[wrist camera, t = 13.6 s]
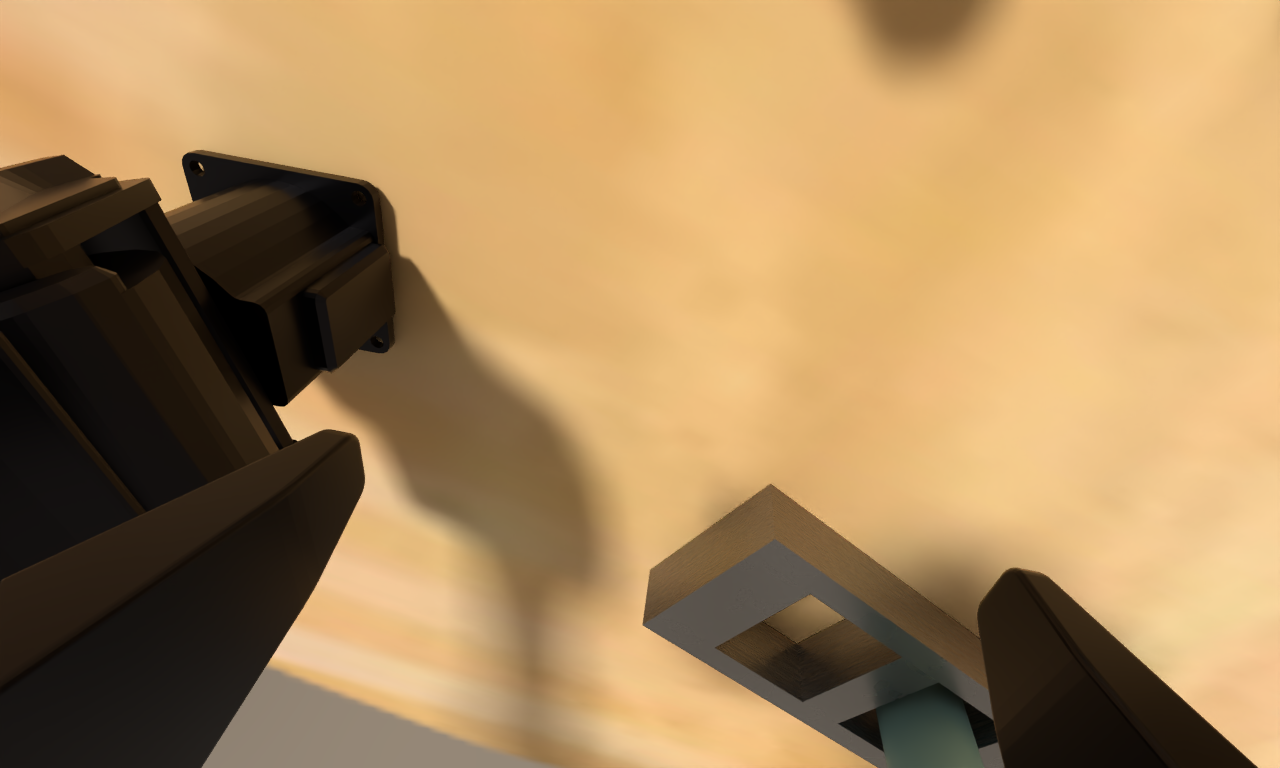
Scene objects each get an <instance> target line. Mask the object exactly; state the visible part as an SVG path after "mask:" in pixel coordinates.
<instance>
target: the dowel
mask: <svg viewBox="0 0 1280 768" xmlns="http://www.w3.org/2000/svg"><path fill="white" fill-rule="evenodd" d="M876 713H877V718H878V723H879V728H880V733H881V738H882V743H883V748H884V753H885V758H886V763H887V768H984V765H983V762H982V759H981V756H980V753H979V749H978V746H977V743H976V740H975V737H974V734H973V731H972V728H971V725H970V722H969V719H968V716H967V713H966V709H965V706H964V703H963V700H962V698H961V697H959V696H958V695H956V694H955V693H953V692H952V691H950V690H949V689H948V688H946V687H945V686H943V685H942V684H940V683H936V684H934V685H931V686H929V687H926V688H924V689H921V690H919V691H917V692H914V693H912V694H909V695H907V696H904V697H902V698H899V699H897V700H894V701H892V702H890V703H887V704H885V705H882V706H880V707H877V708H876Z"/></svg>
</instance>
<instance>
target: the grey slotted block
mask: <svg viewBox="0 0 1280 768" xmlns="http://www.w3.org/2000/svg"><path fill="white" fill-rule="evenodd" d="M809 594H811V595H813V596H814V597H816V598H817V599H818V600H820V601H821V602H823V603H824V604H826V605H827V606H829V607H830V608H831V609H833V610H834V611H836V612H837V613H839V614H840V615H842V616H843V617H845V618H846V619H844V620H842V621H841V622H839V623H837V624H835V625H833V626H831V627H829V628H827V629H825V630H823V631H821V632H819V633H817V634H815V635H813V636H811V637H809V638H808V639H806V640H804V641H802V642H800V643H798V644H796V643H794V642H793V641H791V640H790V639H788V638H787V637H785V636H784V635H782V634H781V633H779V632H777V631H776V630H774V629H773V628H771V627H770V626H768V625H767V624H765V623H764V622H762V621H763V620H765V619H767V618H768V617H770V616H772V615H774V614H775V613H777V612H779V611H781V610H783V609H784V608H786V607H788V606H790V605H791V604H793V603H795V602H797V601H799V600H800V599H802V598H804V597H806V596H807V595H809ZM643 626H645V627H646V628H648V629H650V630H651V631H653V632H655V633H656V634H658V635H660V636H661V637H663V638H665V639H666V640H668V641H670V642H671V643H673V644H675V645H676V646H678V647H680V648H681V649H683V650H685V651H686V652H688V653H689V654H691V655H693V656H694V657H696V658H698V659H699V660H701V661H703V662H704V663H706V664H708V665H709V666H711V667H713V668H714V669H716V670H718V671H719V672H721V673H723V674H724V675H726V676H727V677H729V678H731V679H732V680H734V681H736V682H737V683H739V684H741V685H742V686H744V687H746V688H747V689H749V690H751V691H752V692H754V693H756V694H757V695H759V696H761V697H762V698H764V699H766V700H767V701H769V702H770V703H772V704H774V705H775V706H777V707H779V708H780V709H782V710H784V711H785V712H787V713H789V714H790V715H792V716H794V717H795V718H797V719H799V720H800V721H802V722H804V723H805V724H807V725H809V726H810V727H812V728H813V729H815V730H817V731H818V732H820V733H822V734H823V735H825V736H827V737H828V738H830V739H832V740H833V741H835V742H837V743H838V744H840V745H842V746H843V747H845V748H847V749H848V750H850V751H852V752H853V753H855V754H856V755H858V756H860V757H861V758H863V759H865V760H866V761H868V762H870V763H871V764H873V765H875V766H876V767H878V768H887V763H886V758H885V753H884V748H883V743H882V738H881V733H880V728H879V723H878V718H877V713H876V708H877V707H880V706H882V705H885V704H887V703H890V702H892V701H894V700H897V699H899V698H902V697H904V696H907V695H909V694H912V693H914V692H917V691H919V690H921V689H924V688H926V687H929V686H931V685H934V684H936V683H940V684H942V685H943V686H945V687H946V688H948V689H949V690H950V691H952V692H953V693H955V694H956V695H958V696H959V697H961V698H962V700H963V703H964V706H965V709H966V713H967V716H968V719H969V722H970V725H971V728H972V731H973V734H974V737H975V740H976V743H977V746H978V749H979V753H980V756H981V759H982V762H983V765H984V768H1004V764H1003V760H1002V756H1001V752H1000V748H999V744H998V740H997V736H996V731H995V726H994V721H993V715H992V709H991V703H990V697H989V690H988V684H987V678H986V671H985V665H984V659H983V652H982V646H981V640H980V639H979V638H978V637H977V636H975V635H974V634H972V633H971V632H970V631H968V630H967V629H966V628H964V627H963V626H962V625H960V624H959V623H958V622H956V621H955V620H954V619H952V618H951V617H950V616H948V615H947V614H945V613H944V612H943V611H941V610H940V609H939V608H937V607H936V606H935V605H933V604H932V603H931V602H929V601H928V600H927V599H925V598H924V597H923V596H921V595H920V594H918V593H917V592H916V591H914V590H913V589H912V588H910V587H909V586H908V585H906V584H905V583H904V582H902V581H901V580H900V579H898V578H897V577H896V576H894V575H893V574H891V573H890V572H889V571H887V570H886V569H885V568H883V567H882V566H881V565H879V564H878V563H877V562H875V561H874V560H873V559H871V558H870V557H869V556H867V555H866V554H865V553H863V552H862V551H860V550H859V549H858V548H856V547H855V546H854V545H852V544H851V543H850V542H848V541H847V540H846V539H844V538H843V537H842V536H840V535H839V534H838V533H836V532H835V531H833V530H832V529H831V528H829V527H828V526H827V525H825V524H824V523H823V522H821V521H820V520H819V519H817V518H816V517H815V516H813V515H812V514H811V513H809V512H808V511H806V510H805V509H804V508H802V507H801V506H800V505H798V504H797V503H796V502H794V501H793V500H792V499H790V498H789V497H788V496H786V495H785V494H784V493H782V492H781V491H779V490H778V489H777V488H775V487H774V486H773V485H771V484H770V485H769V486H767V487H766V488H764V489H763V490H762V491H760V492H759V493H757V494H756V495H755V496H753V497H752V498H750V499H749V500H748V501H746V502H745V503H743V504H742V505H741V506H739V507H738V508H736V509H735V510H734V511H732V512H731V513H729V514H728V515H727V516H725V517H724V518H722V519H721V520H720V521H718V522H717V523H715V524H714V525H713V526H711V527H710V528H708V529H707V530H706V531H704V532H703V533H701V534H700V535H699V536H697V537H696V538H694V539H693V540H692V541H690V542H689V543H687V544H686V545H685V546H683V547H682V548H680V549H679V550H678V551H676V552H675V553H673V554H672V555H671V556H669V557H668V558H666V559H665V560H664V561H662V562H661V563H659V564H658V565H657V566H655V567H654V568H652V569H651V570H650V575H649V582H648V589H647V596H646V603H645V611H644V618H643Z"/></svg>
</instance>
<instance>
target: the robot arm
mask: <svg viewBox="0 0 1280 768" xmlns="http://www.w3.org/2000/svg"><path fill="white" fill-rule="evenodd" d="M199 163H200V164H201V165H202V166H203V167H204V169H205V172H204V171H203V170H202V169H201V168H200V166H199ZM182 165H183V169H184V173H185V176H186V180H187V183H188V187H189V190H190V194H191V197H192V200H193V202H192V203H189V204H187V205H184V206H182V207H179V208H176V209H174V210H171V211H169V212H166V213H164V212H163V211H162V209H161V207H160V205H159V204H158V202H159V201H161V200H162V199H161V198H160V196H159V194H158V192H157V191H156V189H155V187H154V185H153V183H152V182H151V180H150V178H141V179H133V180H125V181H118V180H117V178H116V177H108V178H102V177H101V175H100V174H97V175H95V174H93V173H91V172H90V171H88V170H87V169H85V168H84V167H82V166H80V165H79V164H77V163H76V162H74V161H73V160H71V159H70V158H68V157H66V156H65V155H60V156H52V157H45V158H40V159H36V160H31V161H27V162H23V163H19V164H15V165H11V166H7V167H3V168H0V768H202V766H203V764H204V763H205V761H206V760H207V758H208V757H209V755H210V753H211V752H212V750H213V749H214V747H215V746H216V744H217V742H218V741H219V739H220V738H221V736H222V734H223V733H224V731H225V730H226V728H227V727H228V725H229V723H230V722H231V720H232V719H233V717H234V716H235V714H236V713H237V711H238V709H239V708H240V706H241V705H242V703H243V702H244V700H245V698H246V697H247V695H248V694H249V692H250V691H251V689H252V687H253V686H254V684H255V683H256V681H257V680H258V678H259V676H260V675H261V673H262V672H263V670H264V668H265V667H266V665H267V664H268V662H269V661H270V659H271V657H272V656H273V654H274V653H275V651H276V650H277V648H278V646H279V645H280V643H281V642H282V640H283V639H284V637H285V635H286V634H287V632H288V631H289V629H290V628H291V626H292V624H293V623H294V621H295V620H296V618H297V617H298V615H299V613H300V612H301V610H302V609H303V607H304V605H305V604H306V602H307V600H308V599H309V597H310V595H311V594H312V592H313V590H314V588H315V587H316V585H317V583H318V581H319V579H320V577H321V575H322V573H323V571H324V569H325V567H326V565H327V563H328V561H329V559H330V557H331V555H332V553H333V551H334V549H335V547H336V545H337V543H338V541H339V539H340V537H341V535H342V533H343V531H344V529H345V527H346V525H347V523H348V521H349V519H350V517H351V515H352V513H353V511H354V509H355V506H356V504H357V502H358V500H359V498H360V496H361V494H362V492H363V489H364V484H365V473H364V467H363V461H362V455H361V448H360V443H359V440H358V438H357V437H356V436H355V435H353V434H351V433H346V432H341V431H336V430H331V429H326V430H322V431H320V432H317V433H315V434H313V435H311V436H309V437H307V438H305V439H302V440H300V441H296V440H292V438H291V436H290V435H289V433H288V431H287V429H286V428H285V426H284V424H283V422H282V421H281V419H280V417H279V415H278V414H277V412H276V410H275V408H274V406H273V405H275V406H286V405H287V404H288V403H289V402H290V401H291V400H293V399H294V398H295V397H296V396H297V395H298V394H299V393H300V392H301V391H302V390H303V389H304V388H305V387H306V386H308V385H309V384H310V383H311V382H312V381H313V380H314V379H315V378H316V377H317V376H318V375H319V374H320V373H321V372H323V371H325V372H330V373H332V372H334V371H335V370H337V369H338V368H339V367H340V366H341V365H342V364H343V363H344V362H345V361H347V360H348V359H349V358H350V357H351V356H352V355H353V354H354V353H355V352H356V351H357V350H358V349H359V350H364V351H370V352H375V353H385V352H387V351H388V350H389V349H390V348H391V347H392V346H393V344H394V340H395V338H394V329H393V319H392V316H393V315H394V314H395V302H394V293H393V283H392V273H391V263H390V254H389V251H388V250H387V248H386V247H385V244H384V235H383V225H382V216H381V206H380V198H379V194H378V191H377V190H376V189H375V187H374V186H373V185H372V184H370V183H369V182H367V181H364V180H360V179H354V178H349V177H344V176H338V175H333V174H328V173H322V172H317V171H312V170H306V169H301V168H295V167H290V166H285V165H279V164H274V163H269V162H263V161H258V160H252V159H247V158H242V157H236V156H231V155H226V154H220V153H215V152H210V151H204V150H196V151H192V152H189V153H187V154H185V155H184V156H183V159H182ZM358 191H359V192H362V193H363V194H364V196H365V197H366V203H365V202H363V201H361V200H360V198H359V197H358ZM376 336H377V337H379V338H380V339H381V340H382V341H383V343H382V342H380V341H378V340H377V338H376ZM977 619H978V627H979V633H980V640H981V646H982V652H983V659H984V665H985V671H986V678H987V684H988V690H989V697H990V703H991V709H992V715H993V721H994V726H995V731H996V736H997V740H998V744H999V748H1000V752H1001V756H1002V760H1003V764H1004V768H1258V767H1257V766H1256V765H1255V764H1253V763H1252V762H1251V761H1250V760H1249V759H1248V758H1247V757H1246V756H1245V755H1244V754H1243V753H1241V752H1240V751H1239V750H1238V749H1237V748H1236V747H1235V746H1234V745H1233V744H1232V743H1230V742H1229V741H1228V740H1227V739H1226V738H1225V737H1224V736H1223V735H1222V734H1221V733H1219V732H1218V731H1217V730H1216V729H1215V728H1214V727H1213V726H1212V725H1211V724H1210V723H1208V722H1207V721H1206V720H1205V719H1204V718H1203V717H1202V716H1201V715H1200V714H1199V713H1197V712H1196V711H1195V710H1194V709H1193V708H1192V707H1191V706H1190V705H1189V704H1188V703H1186V702H1185V701H1184V700H1183V699H1182V698H1181V697H1180V696H1179V695H1178V694H1177V693H1175V692H1174V691H1173V690H1172V689H1171V688H1170V687H1169V686H1168V685H1167V684H1166V683H1164V682H1163V681H1162V680H1161V679H1160V678H1159V677H1158V676H1157V675H1156V674H1155V673H1153V672H1152V671H1151V670H1150V669H1149V668H1148V667H1147V666H1146V665H1145V664H1144V663H1142V662H1141V661H1140V660H1139V659H1138V658H1137V657H1136V656H1135V655H1134V654H1133V653H1131V652H1130V651H1129V650H1128V649H1127V648H1126V647H1125V646H1124V645H1123V644H1122V643H1120V642H1119V641H1118V640H1117V639H1116V638H1115V637H1114V636H1113V635H1112V634H1111V633H1109V632H1108V631H1107V630H1106V629H1105V628H1104V627H1103V626H1102V625H1101V624H1100V623H1098V622H1097V621H1096V620H1095V619H1094V618H1093V617H1092V616H1091V615H1090V614H1089V613H1088V612H1086V611H1085V610H1084V609H1083V608H1082V607H1081V606H1080V605H1079V604H1078V603H1077V602H1075V601H1074V600H1073V599H1072V598H1071V597H1070V596H1069V595H1068V594H1067V593H1066V592H1064V591H1063V590H1062V589H1061V588H1060V587H1059V586H1058V585H1057V584H1056V583H1055V582H1053V581H1052V580H1051V579H1050V578H1049V577H1048V576H1046V575H1044V574H1042V573H1040V572H1035V571H1030V570H1025V569H1020V568H1010V569H1008V570H1006V571H1005V572H1004V573H1003V574H1002V575H1001V577H1000V578H999V579H998V580H997V582H996V583H995V584H994V586H993V587H992V588H991V589H990V591H989V592H988V593H987V595H986V596H985V597H984V598H983V600H982V601H981V603H980V605H979V608H978V616H977Z"/></svg>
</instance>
